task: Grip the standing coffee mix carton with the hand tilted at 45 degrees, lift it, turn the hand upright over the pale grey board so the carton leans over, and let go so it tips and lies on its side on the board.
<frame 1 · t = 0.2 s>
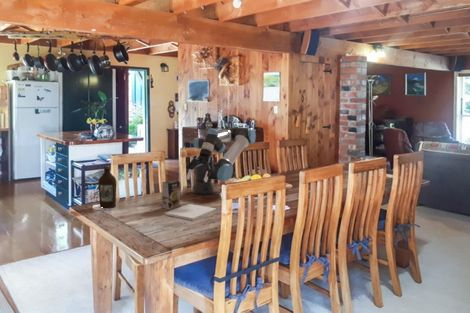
hand: (196, 180, 269), 15 cm above the table, tool tilted 35°, fingers open, 13 cm apart
coffee box: (171, 207, 262), on the table
board: (190, 212, 251), on the table
olive oil: (107, 206, 260), on the table
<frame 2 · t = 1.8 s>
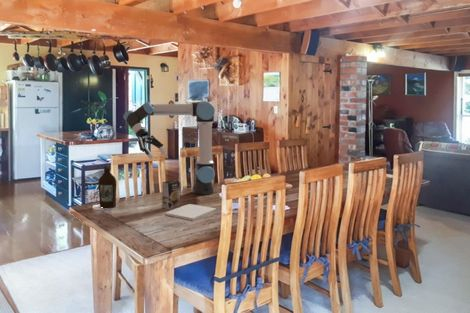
hand: (159, 156, 267), 30 cm above the table, tool tilted 45°, fingers open, 13 cm apart
nothing on the table moved.
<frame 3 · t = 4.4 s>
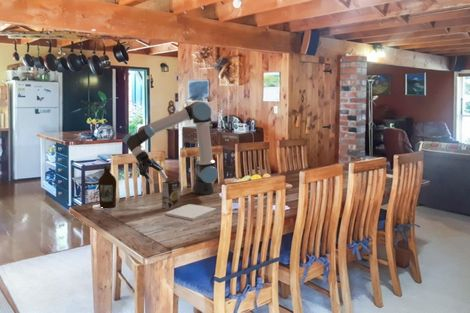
hand: (159, 180, 263), 16 cm above the table, tool tilted 45°, fingers open, 13 cm apart
nothing on the table moved.
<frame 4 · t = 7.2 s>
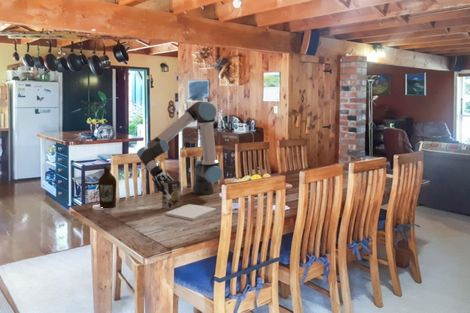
hand: (175, 197, 259), 7 cm above the table, tool tilted 45°, fingers closed on coffee box, 9 cm apart
coffee box: (171, 207, 262), on the table, touching gripper
everything else where it was.
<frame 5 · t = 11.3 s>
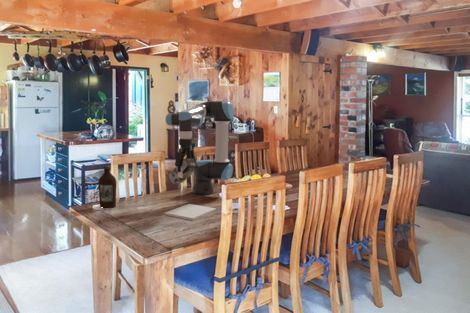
hand: (185, 176, 250), 22 cm above the table, tool pointing down, fingers closed on coffee box, 9 cm apart
coffee box: (175, 179, 254), point 19 cm above the table, touching gripper
everything else where it was.
when the fingers open (9 cm above the table, at t = 14.6 s): coffee box drops 2 cm, resting on board.
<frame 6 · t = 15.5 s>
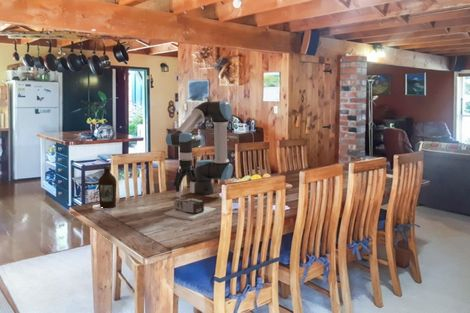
hand: (185, 194, 251), 10 cm above the table, tool pointing down, fingers open, 13 cm apart
coffee box: (179, 203, 255), point 4 cm above the table, touching board
everything else where it was.
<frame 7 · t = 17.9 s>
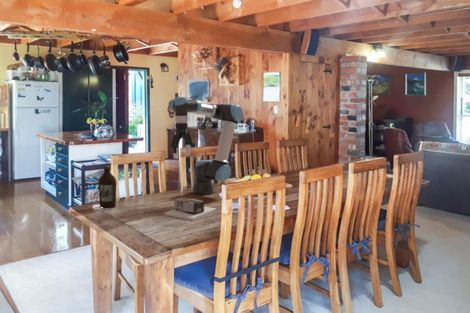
hand: (182, 156, 263), 31 cm above the table, tool pointing down, fingers open, 13 cm apart
nothing on the table moved.
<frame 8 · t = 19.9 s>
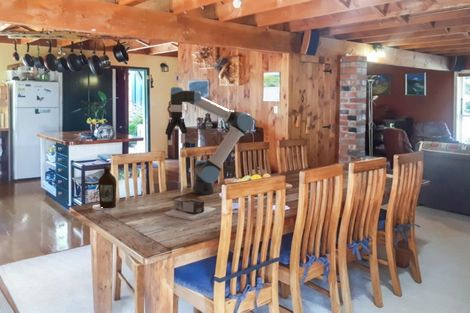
hand: (176, 144, 278), 37 cm above the table, tool pointing down, fingers open, 13 cm apart
nothing on the table moved.
at the end: coffee box tilted 90°; coffee box touching board; the gripper is holding nothing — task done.
